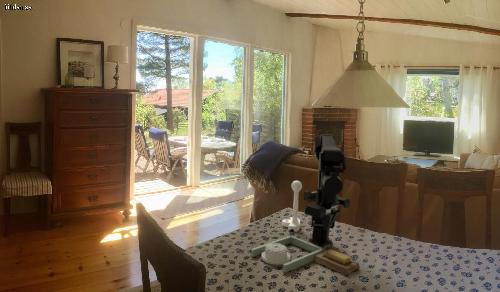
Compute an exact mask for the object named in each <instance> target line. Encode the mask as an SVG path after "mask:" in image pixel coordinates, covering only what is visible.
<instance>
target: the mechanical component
mask: <svg viewBox="0 0 500 292" xmlns="http://www.w3.org/2000/svg"><path fill="white" fill-rule="evenodd" d="M260 255H261V260H262V261H263V262H264V263H267V264H270V265H277V266H278V265H283V264H285V263H288V262H290V261H291V254H290V253H289V252H288V247H287V246H286V245H281V244H279V243H277V244H276V243H274V244H269V245H266V247H265V251H264V252H262V254H260Z"/></svg>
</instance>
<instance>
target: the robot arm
mask: <svg viewBox="0 0 500 292" xmlns="http://www.w3.org/2000/svg"><path fill="white" fill-rule="evenodd" d="M313 154H314V159H315V161H316V162H317V164H318V174H317V175H318V178H317V180H318V181H317V190H316V191H311V190H307V191H304V192H303V196H302V197H303V198H302V200H304V201H305V202H306V203H307V204H308V205H306V206H305V207H304V211H303V212H304V214H305V215H308V216H309V217H310V228H312V232H311V233H312V234H311V235H312V236H311V237H312V238H309V239H308V242H311V243H315V244H317V245H320V246H325V245H326V244H329V243H332V242H333V240H332V239H330V229H334V228H335V223H336V219H337V217H338V215H339V214H340V213H341V210H338V207H339V206H343V208H344V209H348V208H351V201H350V199H349V198H346V197H344V196H339V195H338V194H340V193H341V192H342V190H343V187H344V186H343V182H342V179H341V178H340V174H342V173H343V174H344V173H345V170H346V167H347V166H346V156H345V154H344V152H343V151H342V149H341V148H340V147H337V140H336V139H335V135H334V134H330V133H328V134H327V133H322V134H320V135H319V137H318V138H316V139H315V140H314V143H313ZM309 203H312V204H309Z"/></svg>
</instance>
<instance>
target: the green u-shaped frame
mask: <svg viewBox="0 0 500 292" xmlns="http://www.w3.org/2000/svg"><path fill="white" fill-rule="evenodd" d="M274 243H276V244H277V243H279V244H281V245H285V246H287V245H289V244H291V245H294V246H296V247H300V248H302V249H304V250H306V251H308V252H310V253H308V254H306V255H302V256H300V257H297V258H295V259H293V260H290V261H289V262H288V263H285V264H282V273H285V274H286V273H288V272H291V271H293V270H295V269H297V268H299V267H301V266H304V265H306V264H309V263H311V262H313V261H315V256H316V255H319V254H321V253H323V252H325V250H326V249H325V248H323V247H320V246H318V245H316V244H313V243H312V242H311V243H310V242H309V241H306V240H303V239H301V238H298V237H296V236H294V235H288V236H285V237H282V238H280V239H277V240H274V241H273V240H272V241H271V242H268V243H265V244H262V245H258V246H256V247H253V248H251V251H250V252H251V253H250V257H256V256H260V255H262V252H264V251H265V247H266V245H269V244H274Z"/></svg>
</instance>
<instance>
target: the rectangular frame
mask: <svg viewBox="0 0 500 292" xmlns="http://www.w3.org/2000/svg"><path fill="white" fill-rule="evenodd" d="M314 262H316V263H319V264H320V265H323V266H325V267H328V268H329V269H332V270H334V271H335V272H338V273H341V274H342V275H346V276H347V275H349V274H351V273H353V272H355V271H356V270H358V269H359V268H360V262H358V261H356V260H353V259H351V258H350V264H349V265H347V266H344V265H342V264H339V263H337V262H334V261H332V260H330V259H327V258H325V252H323V253H321V254H319V255H316V256H315V260H314Z"/></svg>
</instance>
